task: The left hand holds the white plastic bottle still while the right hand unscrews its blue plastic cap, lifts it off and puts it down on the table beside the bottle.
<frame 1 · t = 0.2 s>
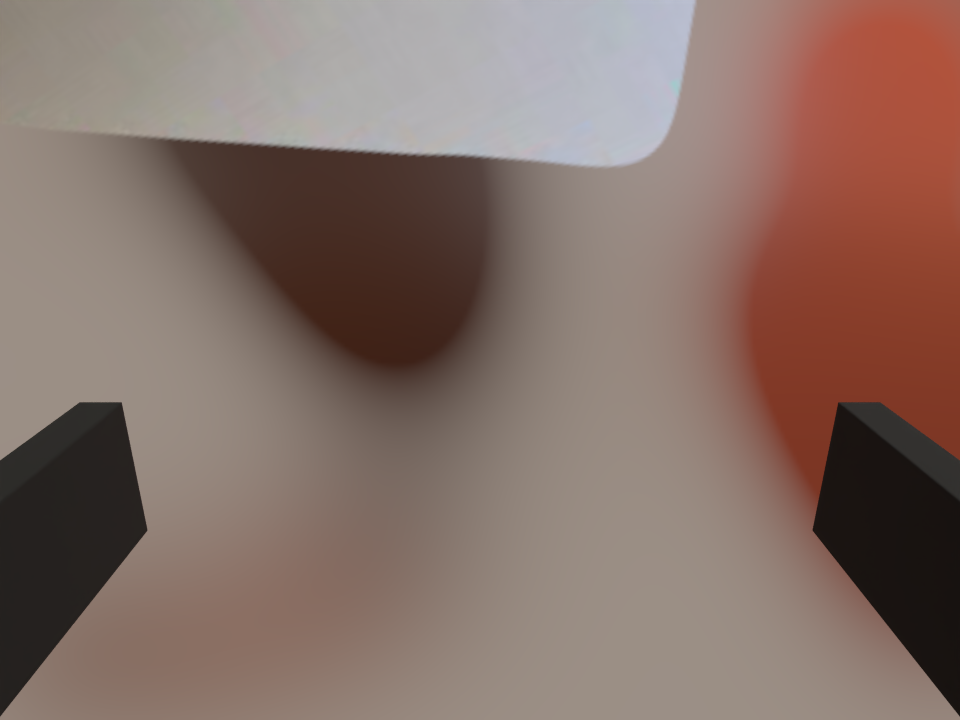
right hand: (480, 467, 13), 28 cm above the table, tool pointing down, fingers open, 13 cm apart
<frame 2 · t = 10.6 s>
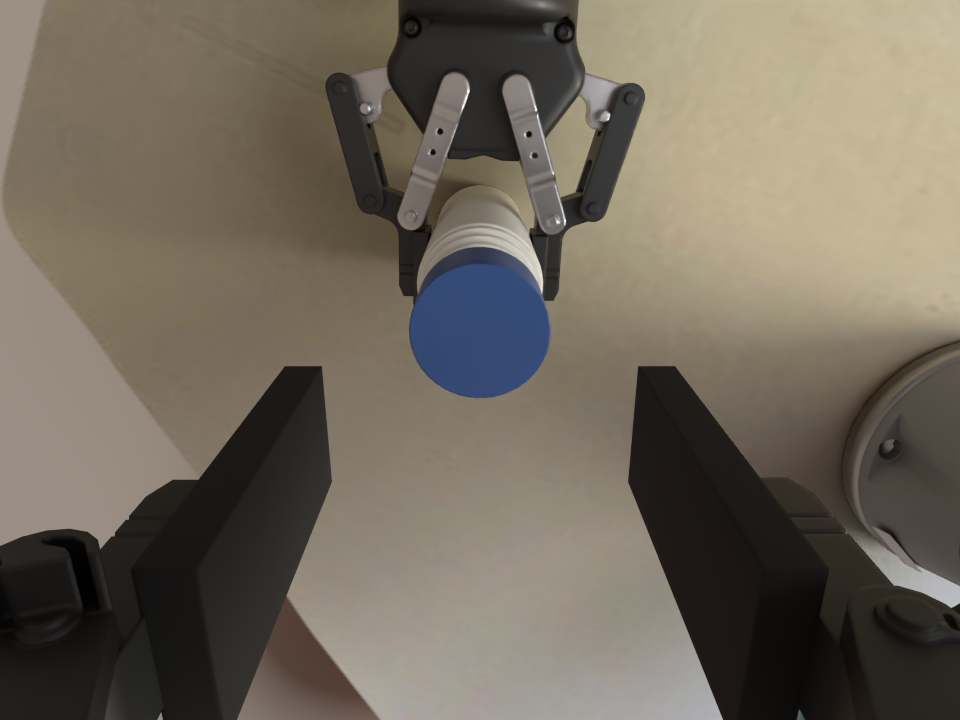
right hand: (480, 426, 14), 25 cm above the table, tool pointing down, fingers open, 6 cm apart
left hand: (478, 304, 33), fingers closed on bottle, 5 cm apart
cap: (479, 330, 20), point 19 cm above the table, screwed on, not yet turned
bottle: (480, 228, 38), on the table, touching left hand
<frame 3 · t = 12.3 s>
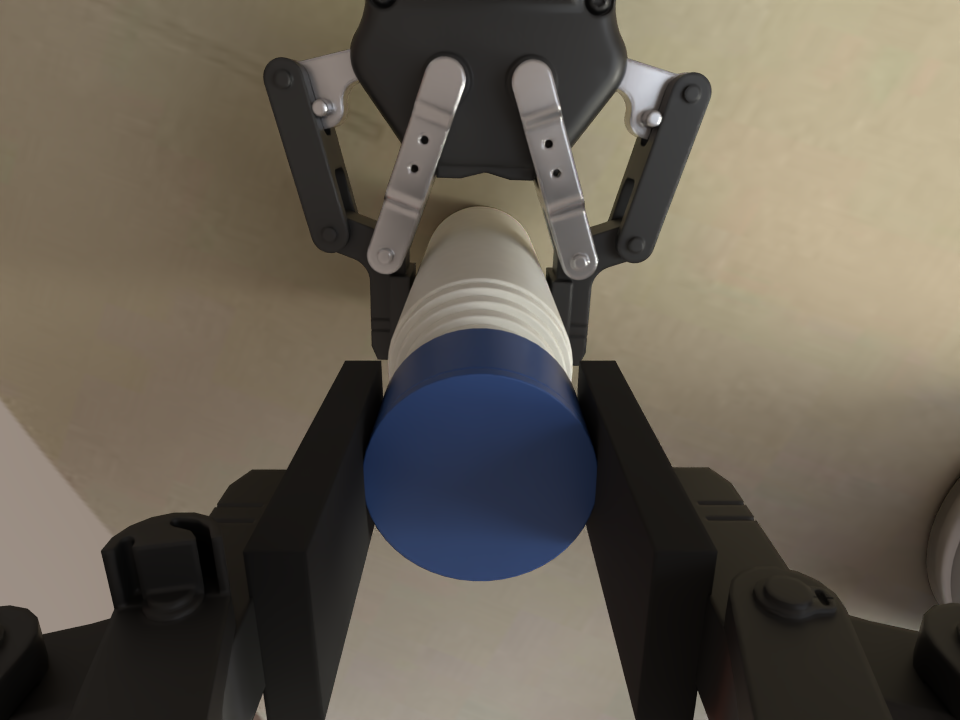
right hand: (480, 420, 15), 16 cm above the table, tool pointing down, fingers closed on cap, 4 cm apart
left hand: (478, 368, 25), fingers closed on bottle, 5 cm apart
cap: (480, 475, 12), point 19 cm above the table, screwed on, not yet turned, touching right hand
bottle: (480, 261, 30), on the table, touching left hand
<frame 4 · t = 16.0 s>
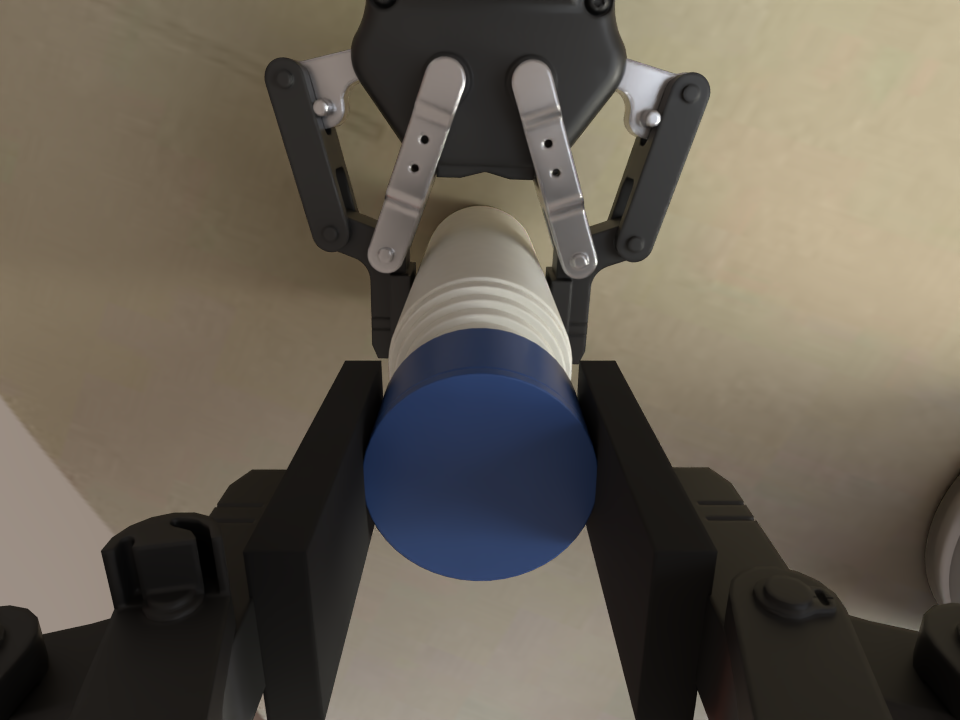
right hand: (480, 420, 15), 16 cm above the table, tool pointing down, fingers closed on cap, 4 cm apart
left hand: (478, 367, 25), fingers closed on bottle, 5 cm apart
cap: (480, 475, 12), point 19 cm above the table, turned 128° so far, risen 0.1 cm, still on its thread, touching right hand
bottle: (480, 260, 30), on the table, touching left hand
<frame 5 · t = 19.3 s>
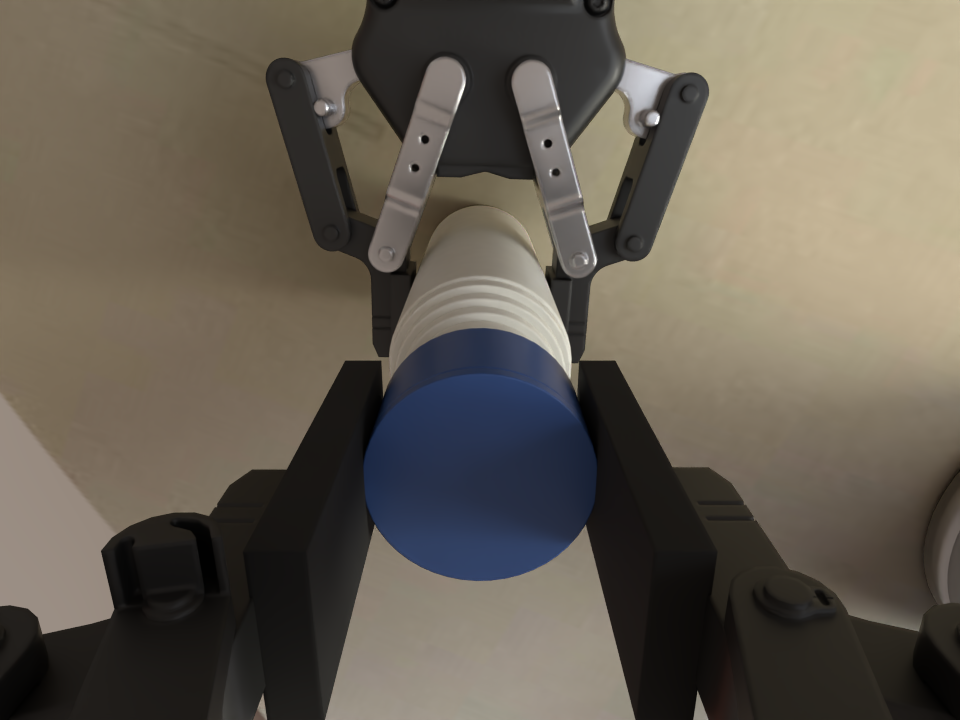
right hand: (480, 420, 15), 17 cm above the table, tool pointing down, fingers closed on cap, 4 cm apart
left hand: (478, 366, 25), fingers closed on bottle, 5 cm apart
cap: (480, 475, 12), point 19 cm above the table, turned 257° so far, risen 0.2 cm, still on its thread, touching right hand
bottle: (480, 259, 30), on the table, touching left hand
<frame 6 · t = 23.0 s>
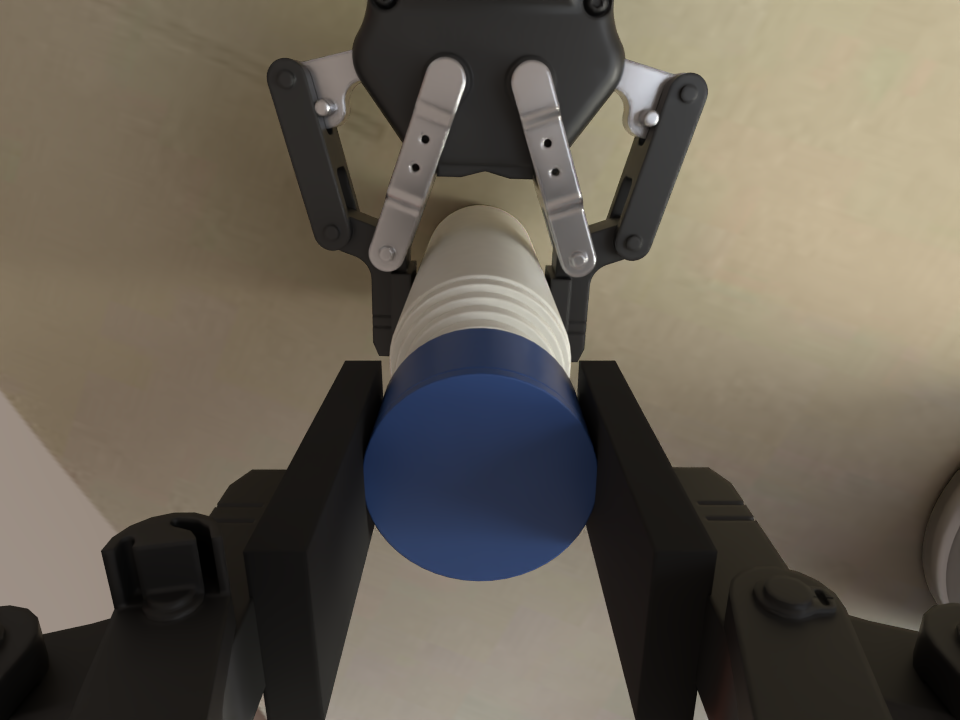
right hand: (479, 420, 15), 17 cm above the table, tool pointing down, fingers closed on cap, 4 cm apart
left hand: (478, 365, 25), fingers closed on bottle, 5 cm apart
cap: (480, 475, 12), point 19 cm above the table, turned 385° so far, risen 0.3 cm, still on its thread, touching right hand
bottle: (480, 259, 30), on the table, touching left hand
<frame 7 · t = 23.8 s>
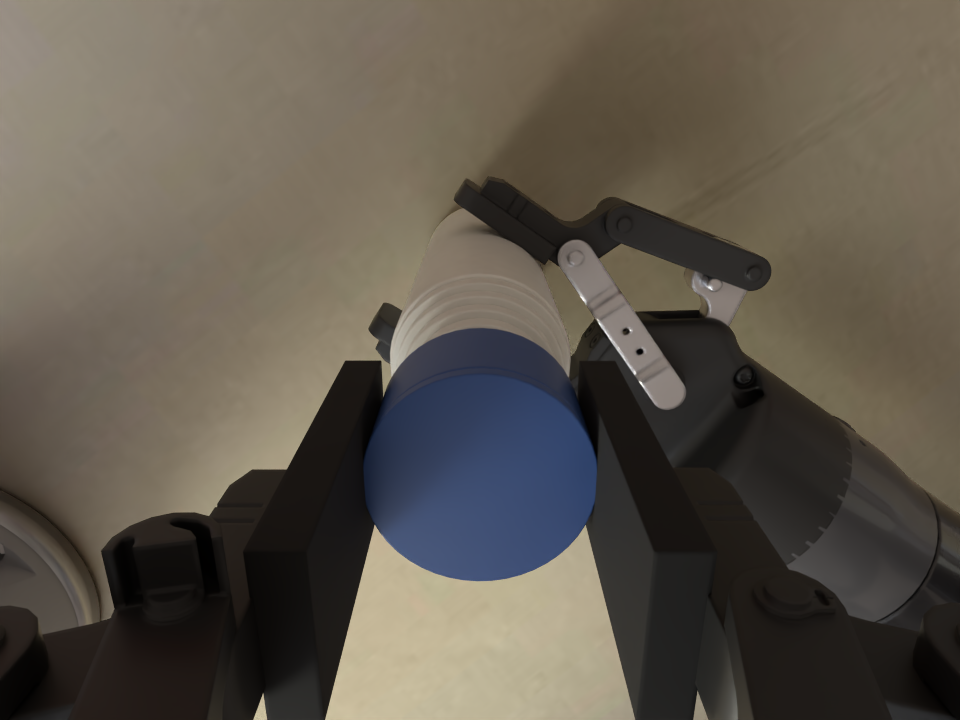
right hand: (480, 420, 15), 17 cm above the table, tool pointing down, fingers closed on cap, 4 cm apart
left hand: (418, 256, 24), fingers closed on bottle, 5 cm apart
cap: (480, 475, 12), point 19 cm above the table, off its thread, touching right hand
bottle: (480, 259, 30), on the table, touching left hand
when the right hand's fingers open (2 cm above the table, at t = 29.9 s): cap drops 2 cm, point 2 cm above the table.
when the left hand's fingers open (7 cm above the table, at t = 31.2 s): bottle stays where it is, on the table.
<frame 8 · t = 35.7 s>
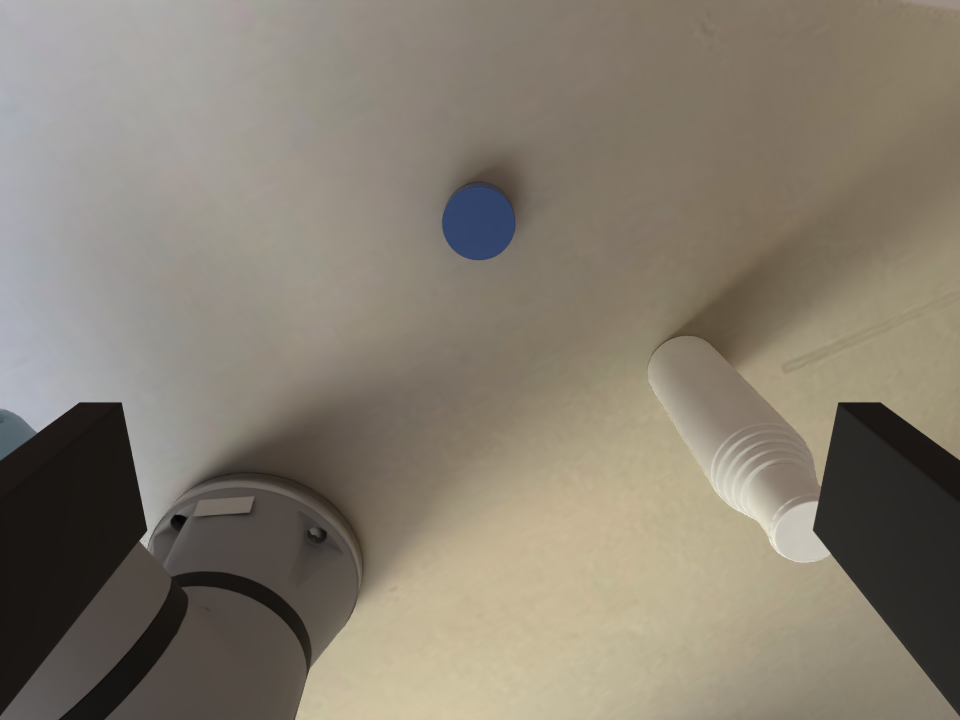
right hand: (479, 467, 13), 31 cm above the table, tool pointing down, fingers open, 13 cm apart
cap: (478, 223, 39), point 2 cm above the table, off its thread
bottle: (683, 369, 45), on the table
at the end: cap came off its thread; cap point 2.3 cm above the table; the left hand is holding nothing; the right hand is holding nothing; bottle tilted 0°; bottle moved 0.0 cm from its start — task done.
